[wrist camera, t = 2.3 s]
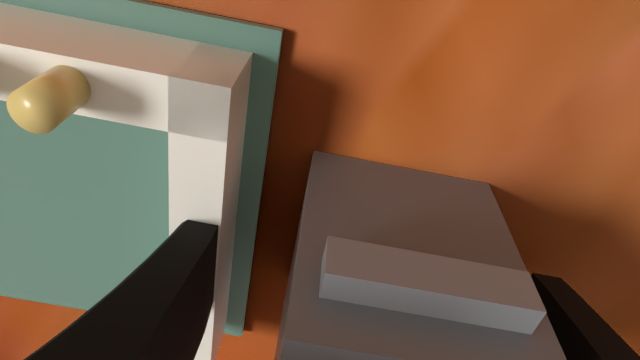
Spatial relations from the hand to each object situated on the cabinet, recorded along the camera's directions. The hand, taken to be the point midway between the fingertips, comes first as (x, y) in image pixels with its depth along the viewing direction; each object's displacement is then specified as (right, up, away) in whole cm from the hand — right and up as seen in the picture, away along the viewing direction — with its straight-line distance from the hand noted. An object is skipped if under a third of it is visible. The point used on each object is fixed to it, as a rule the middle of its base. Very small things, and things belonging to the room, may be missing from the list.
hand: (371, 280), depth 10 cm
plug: (0, +1, +1) cm, 2 cm away
